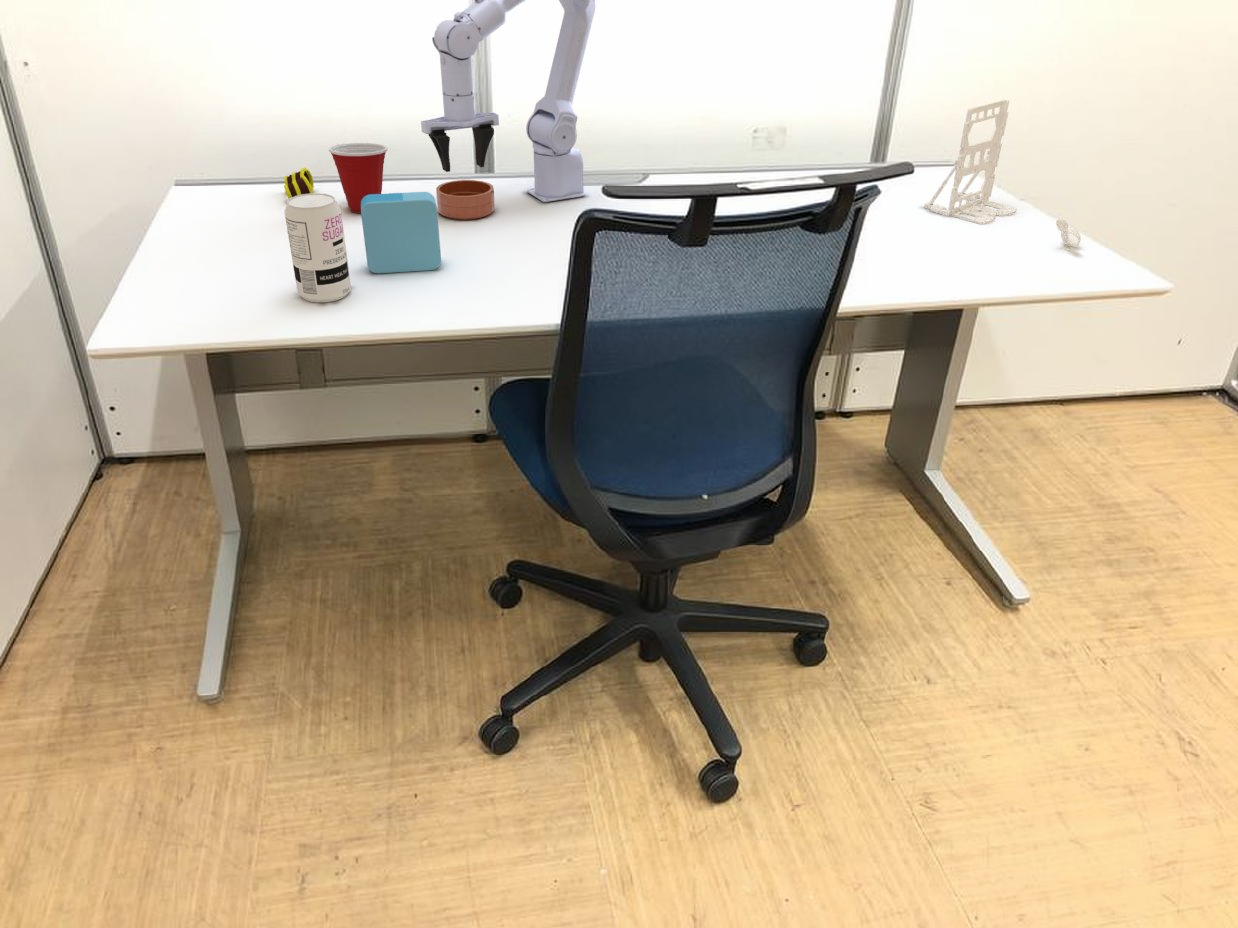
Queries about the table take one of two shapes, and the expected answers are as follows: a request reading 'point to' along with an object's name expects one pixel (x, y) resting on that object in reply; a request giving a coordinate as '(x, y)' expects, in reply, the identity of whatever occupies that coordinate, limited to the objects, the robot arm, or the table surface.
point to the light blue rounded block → (401, 232)
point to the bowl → (465, 199)
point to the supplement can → (318, 247)
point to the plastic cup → (359, 170)
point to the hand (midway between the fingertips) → (463, 168)
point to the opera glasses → (299, 183)
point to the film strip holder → (977, 171)
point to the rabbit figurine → (1068, 234)
